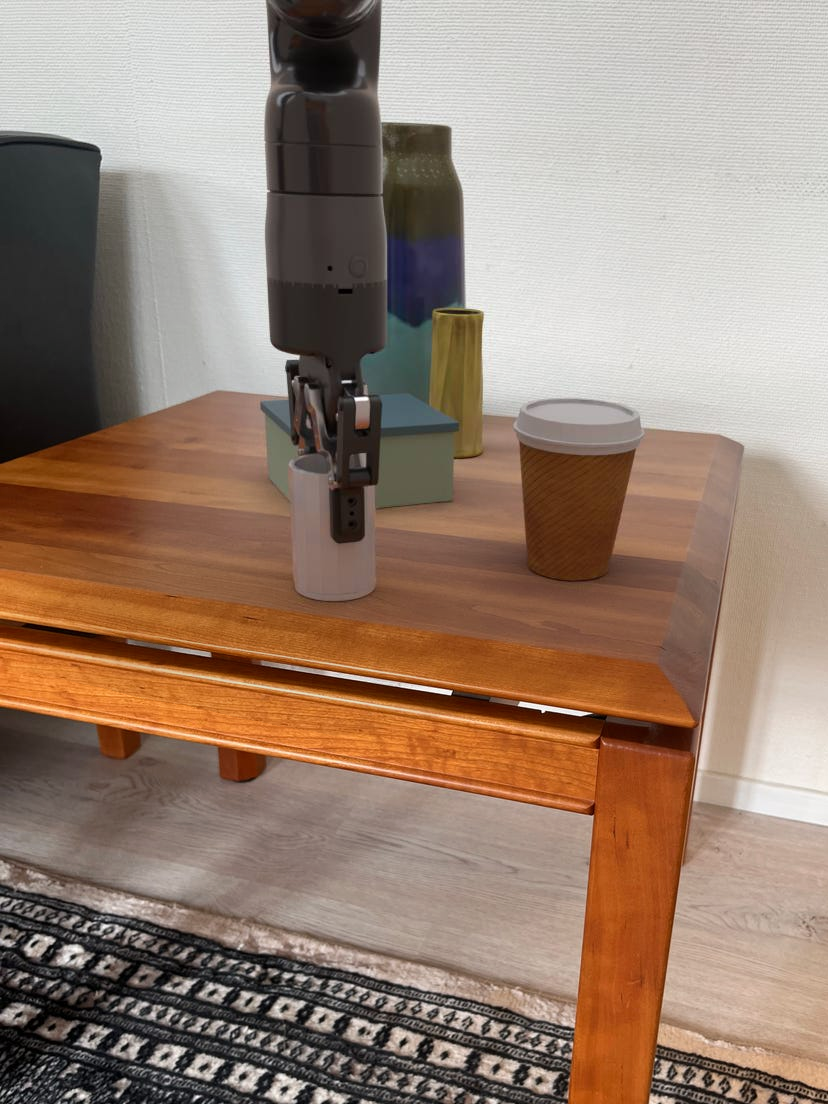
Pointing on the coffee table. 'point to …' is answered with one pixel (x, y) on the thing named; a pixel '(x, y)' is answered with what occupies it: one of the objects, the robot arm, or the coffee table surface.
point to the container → (383, 450)
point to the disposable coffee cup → (574, 482)
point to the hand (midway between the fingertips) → (333, 525)
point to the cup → (327, 537)
